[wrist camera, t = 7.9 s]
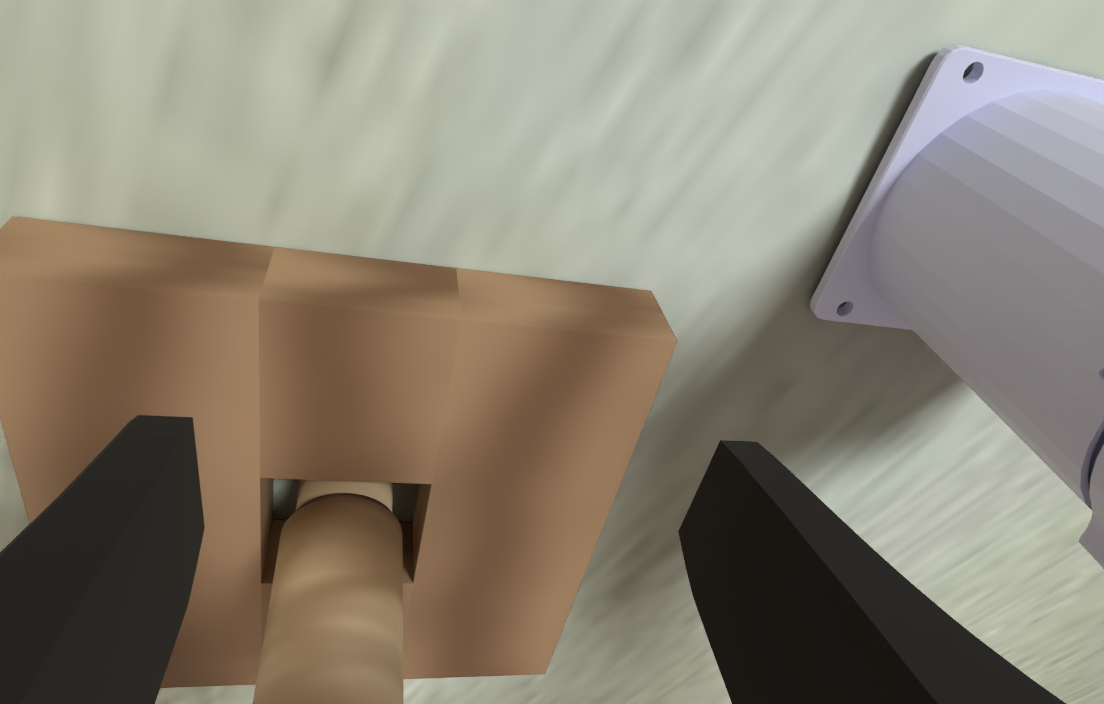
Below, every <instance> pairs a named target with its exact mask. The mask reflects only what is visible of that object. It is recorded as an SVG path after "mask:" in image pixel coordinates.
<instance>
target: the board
mask: <svg viewBox="0 0 1104 704" xmlns="http://www.w3.org/2000/svg"><path fill="white" fill-rule="evenodd" d="M676 344H677V339H676V337H675V335H674V333H673V331H672V329H671V327H670V326H669V324H668V322H667V320H666V318H665V316H664V314H663V312H662V310H661V308H660V306H659V305H658V303H657V301H656V299H655V297H654V295H653V293H652V291H647V290H638V289H630V288H621V287H613V286H604V285H596V284H587V283H578V282H570V281H561V280H553V279H544V278H536V277H527V276H518V275H510V274H501V273H493V272H484V271H476V270H467V269H459V268H450V267H441V266H433V265H424V264H416V263H407V262H399V261H390V260H381V259H373V258H364V257H356V256H347V255H339V254H330V253H321V252H313V251H304V250H296V249H287V248H279V247H270V246H262V245H253V244H244V243H236V242H227V241H219V240H210V239H202V238H193V237H184V236H176V235H167V234H159V233H150V232H142V231H133V230H125V229H116V228H107V227H99V226H90V225H82V224H73V223H65V222H56V221H47V220H39V219H30V218H22V217H13V216H12V217H11V219H10V220H9V221H8V222H7V223H6V224H5V225H4V226H3V227H2V228H1V229H0V419H1V423H2V426H3V430H4V433H5V437H6V441H7V444H8V448H9V451H10V455H11V458H12V462H13V465H14V469H15V473H16V476H17V480H18V483H19V487H20V490H21V494H22V498H23V501H24V505H25V508H26V512H27V515H28V519H29V522H30V523H31V522H32V521H33V520H34V519H35V518H36V517H37V516H39V515H40V514H41V513H42V512H43V511H44V510H45V509H46V508H47V507H48V506H49V505H50V504H51V503H52V502H53V501H54V500H55V499H56V498H57V497H58V496H59V495H60V494H61V493H62V492H63V491H64V490H65V489H66V488H67V487H68V486H69V485H70V484H71V483H72V481H73V480H74V479H75V478H76V477H77V476H78V475H79V474H80V473H81V472H82V471H83V470H84V469H85V468H86V467H87V466H88V465H89V464H90V463H91V462H92V461H93V460H94V459H95V458H96V457H97V455H98V454H99V453H100V452H101V451H102V450H103V449H104V448H105V447H106V446H107V445H108V444H109V443H110V442H111V441H112V439H113V438H114V437H115V436H116V435H117V434H118V433H119V432H120V431H121V430H122V429H123V428H124V427H125V425H126V424H127V423H128V422H129V421H131V420H132V419H133V418H135V417H136V416H138V415H151V416H174V417H193V424H194V433H195V443H196V452H197V461H198V470H199V479H200V489H201V498H202V507H203V516H204V525H205V529H204V533H203V538H202V543H201V548H200V553H199V558H198V562H197V567H196V572H195V576H194V581H193V585H192V590H191V594H190V599H189V603H188V606H187V609H186V612H185V616H184V619H183V622H182V625H181V628H180V631H179V633H178V636H177V639H176V642H175V645H174V648H173V651H172V654H171V657H170V660H169V663H168V666H167V669H166V672H165V675H164V678H163V681H162V683H161V686H160V688H169V687H197V686H225V685H253V684H256V682H257V676H258V669H259V663H260V657H261V651H262V645H263V639H264V633H265V627H266V621H267V615H268V609H269V603H270V597H271V591H272V585H273V578H274V572H275V566H276V560H277V554H278V548H279V542H280V536H281V531H282V528H283V526H284V524H285V522H286V521H287V520H273V478H275V479H303V480H331V481H359V482H387V483H415V484H419V489H418V495H417V501H416V506H415V512H414V518H413V523H401V522H399V523H400V525H401V528H402V552H403V679H420V678H448V677H476V676H504V675H531V674H545V673H546V670H547V668H548V665H549V663H550V660H551V658H552V655H553V653H554V650H555V648H556V645H557V643H558V640H559V638H560V635H561V633H562V630H563V628H564V625H565V623H566V620H567V618H568V615H569V612H570V610H571V607H572V605H573V602H574V600H575V597H576V595H577V592H578V590H579V587H580V585H581V582H582V580H583V577H584V575H585V572H586V570H587V567H588V565H589V562H590V560H591V557H592V555H593V552H594V550H595V547H596V545H597V542H598V540H599V537H600V535H601V532H602V530H603V527H604V525H605V522H606V519H607V517H608V514H609V512H610V509H611V507H612V504H613V502H614V499H615V497H616V494H617V492H618V489H619V487H620V484H621V482H622V479H623V477H624V474H625V472H626V469H627V467H628V464H629V462H630V459H631V457H632V454H633V452H634V449H635V447H636V444H637V442H638V439H639V437H640V434H641V431H642V429H643V426H644V424H645V421H646V419H647V416H648V414H649V411H650V409H651V406H652V404H653V401H654V399H655V396H656V394H657V391H658V389H659V386H660V384H661V381H662V379H663V376H664V374H665V371H666V369H667V366H668V364H669V361H670V359H671V356H672V354H673V351H674V349H675V346H676Z"/></svg>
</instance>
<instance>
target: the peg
mask: <svg viewBox="0 0 1104 704" xmlns="http://www.w3.org/2000/svg"><path fill="white" fill-rule="evenodd" d="M392 485H393V483H387V482H359V481H331V480H303V479H300V484H299V491H298V497H297V504H296V511H295V512H294V513H293V514H292V515H291V516H290V517H289V518H288V519H287V521H286V522H285V524H284V526H283V528H282V531H281V536H280V542H279V548H278V554H277V560H276V566H275V572H274V578H273V585H272V591H271V597H270V603H269V609H268V615H267V621H266V627H265V633H264V639H263V645H262V651H261V657H260V663H259V669H258V676H257V682H256V688H255V694H254V700H253V704H403V552H402V528H401V525H400V523H399V521H398V519H397V518H396V517H395V516H394V514H393V513H392Z"/></svg>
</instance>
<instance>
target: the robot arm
mask: <svg viewBox="0 0 1104 704" xmlns="http://www.w3.org/2000/svg"><path fill="white" fill-rule="evenodd" d="M972 63H973V64H974V65H973V69H972V71H971V72H970V73H969V75H968V76H966V77H965V78H963V74H964V71H965V70H966V68H967V67H968V66H969V65H970V64H972ZM844 302H846V303H845V305H844V306H843V307H841V308H839V309H837V308H838V307H839V305H840V304H842V303H844ZM810 309H811V311H812V312H813V313H814V314H815V315H816V317H817V318H819V319H822V320H828V321H837V322H846V323H854V324H863V325H872V326H881V327H890V328H899V329H908V330H913V331H914V332H915V333H916V334H917V335H918V336H919V337H920V338H921V339H922V340H923V341H924V342H925V343H926V344H927V345H928V346H929V347H930V348H931V349H932V350H933V351H934V352H935V353H936V354H937V355H938V356H939V357H940V358H941V359H942V360H943V361H944V362H945V363H946V364H947V365H948V366H949V367H950V368H951V369H952V370H953V371H954V372H955V373H956V374H957V375H958V376H959V377H960V378H961V379H962V380H963V381H964V382H965V383H966V384H967V385H968V386H969V387H970V388H971V389H972V390H973V391H974V392H975V393H976V394H977V395H978V396H979V397H980V398H981V399H982V400H983V401H984V402H985V403H986V404H987V405H988V406H989V407H990V408H991V409H992V410H993V411H994V412H995V413H996V414H997V415H998V416H999V417H1000V418H1001V419H1002V420H1003V421H1004V422H1005V423H1006V424H1007V425H1008V426H1009V427H1010V428H1011V429H1012V430H1013V431H1014V432H1015V433H1016V434H1017V435H1018V436H1019V437H1020V438H1021V439H1022V440H1023V441H1024V442H1025V443H1026V444H1027V445H1028V446H1029V447H1030V448H1031V449H1032V450H1033V451H1034V452H1035V454H1036V455H1037V456H1038V457H1039V458H1040V459H1041V460H1042V461H1043V462H1044V463H1045V464H1046V465H1047V466H1048V467H1049V468H1050V469H1051V470H1052V471H1053V472H1054V473H1055V474H1056V475H1057V476H1058V477H1059V478H1060V479H1061V480H1062V481H1063V482H1064V483H1065V484H1066V485H1067V486H1068V487H1069V488H1070V489H1071V490H1072V491H1073V492H1074V493H1075V494H1076V495H1077V496H1078V497H1079V498H1080V499H1081V500H1082V501H1083V502H1084V503H1085V504H1086V505H1087V506H1088V507H1089V508H1090V509H1091V510H1092V518H1091V520H1090V522H1089V525H1088V527H1087V528H1086V530H1085V531H1084V533H1083V534H1082V535H1081V537H1080V539H1079V543H1080V544H1081V545H1082V546H1083V547H1084V548H1085V549H1086V550H1087V551H1088V552H1089V553H1090V554H1091V555H1092V557H1093V558H1094V559H1095V560H1096V561H1097V562H1098V563H1099V564H1100V565H1101V566H1102V567H1103V568H1104V80H1102V79H1098V78H1094V77H1090V76H1086V75H1082V74H1078V73H1074V72H1070V71H1066V70H1062V69H1057V68H1053V67H1049V66H1045V65H1041V64H1037V63H1033V62H1029V61H1025V60H1021V59H1017V58H1013V57H1009V56H1005V55H1001V54H997V53H993V52H989V51H984V50H980V49H976V48H972V47H968V46H964V45H960V44H952V45H949V46H947V47H945V48H943V49H942V50H941V51H940V52H939V53H937V55H936V56H935V58H934V59H933V60H932V62H931V64H930V66H929V68H928V70H927V72H926V74H925V76H924V78H923V80H922V82H921V84H920V86H919V88H918V90H917V92H916V94H915V96H914V98H913V100H912V102H911V104H910V105H909V107H908V109H907V111H906V113H905V115H904V117H903V119H902V121H901V123H900V125H899V127H898V129H897V131H896V133H895V135H894V137H893V139H892V141H891V143H890V145H889V147H888V149H887V151H886V153H885V155H884V157H883V159H882V161H881V163H880V165H879V167H878V169H877V171H876V173H875V175H874V176H873V178H872V180H871V182H870V184H869V186H868V188H867V190H866V192H865V194H864V196H863V198H862V200H861V202H860V204H859V206H858V208H857V210H856V212H855V214H854V216H853V218H852V220H851V222H850V224H849V226H848V228H847V230H846V232H845V234H844V236H843V238H842V240H841V242H840V244H839V246H838V247H837V249H836V251H835V253H834V255H833V257H832V259H831V261H830V263H829V265H828V267H827V269H826V271H825V273H824V275H823V277H822V279H821V281H820V283H819V285H818V287H817V289H816V291H815V293H814V295H813V297H812V299H811V302H810ZM204 529H205V525H204V516H203V507H202V498H201V489H200V479H199V470H198V461H197V452H196V443H195V433H194V424H193V417H174V416H151V415H138V416H136V417H135V418H133V419H132V420H131V421H129V422H128V423H127V424H126V425H125V427H124V428H123V429H122V430H121V431H120V432H119V433H118V434H117V435H116V436H115V437H114V438H113V439H112V441H111V442H110V443H109V444H108V445H107V446H106V447H105V448H104V449H103V450H102V451H101V452H100V453H99V454H98V455H97V457H96V458H95V459H94V460H93V461H92V462H91V463H90V464H89V465H88V466H87V467H86V468H85V469H84V470H83V471H82V472H81V473H80V474H79V475H78V476H77V477H76V478H75V479H74V480H73V481H72V483H71V484H70V485H69V486H68V487H67V488H66V489H65V490H64V491H63V492H62V493H61V494H60V495H59V496H58V497H57V498H56V499H55V500H54V501H53V502H52V503H51V504H50V505H49V506H48V507H47V508H46V509H45V510H44V511H43V512H42V513H41V514H40V515H39V516H37V517H36V518H35V519H34V520H33V521H32V522H31V523H30V524H29V525H28V526H27V527H26V528H25V529H24V530H23V531H22V532H21V533H20V534H19V535H18V536H17V537H16V538H15V539H14V540H13V541H12V542H11V543H10V544H9V545H8V546H7V547H5V548H4V549H3V550H2V551H1V552H0V704H155V701H156V698H157V695H158V692H159V689H160V686H161V683H162V681H163V678H164V675H165V672H166V669H167V666H168V663H169V660H170V657H171V654H172V651H173V648H174V645H175V642H176V639H177V636H178V633H179V631H180V628H181V625H182V622H183V619H184V616H185V612H186V609H187V606H188V603H189V599H190V594H191V590H192V585H193V581H194V576H195V572H196V567H197V562H198V558H199V553H200V548H201V543H202V538H203V533H204ZM679 536H680V541H681V546H682V551H683V555H684V560H685V565H686V569H687V573H688V578H689V582H690V586H691V590H692V594H693V597H694V600H695V603H696V606H697V609H698V612H699V615H700V617H701V620H702V623H703V626H704V628H705V631H706V634H707V637H708V639H709V642H710V645H711V648H712V650H713V653H714V656H715V659H716V661H717V664H718V667H719V669H720V672H721V675H722V677H723V680H724V683H725V685H726V688H727V691H728V694H729V696H730V699H731V702H732V704H1066V703H1064V702H1063V701H1061V700H1060V699H1059V698H1057V697H1056V696H1054V695H1053V694H1052V693H1050V692H1049V691H1047V690H1046V689H1044V688H1043V687H1042V686H1040V685H1039V684H1037V683H1036V682H1035V681H1033V680H1032V679H1031V678H1029V677H1028V676H1027V675H1025V674H1024V673H1023V672H1021V671H1020V670H1019V669H1017V668H1016V667H1015V666H1013V665H1012V664H1011V663H1009V662H1008V661H1007V660H1005V659H1004V658H1003V657H1001V656H1000V655H999V654H997V653H996V652H995V651H994V650H992V649H991V648H990V647H988V646H987V645H986V644H984V643H983V642H982V641H980V640H979V639H978V638H976V637H975V636H974V635H973V634H971V633H970V632H969V631H968V630H966V629H965V628H964V627H963V626H961V625H960V624H959V623H958V622H956V621H955V620H954V619H953V618H952V617H950V616H949V615H948V614H947V613H946V612H944V611H943V610H942V609H941V608H940V607H939V606H937V605H936V604H935V603H934V602H933V601H931V600H930V599H929V598H928V597H927V596H926V595H924V594H923V593H922V592H921V591H920V590H919V589H917V588H916V587H915V586H914V585H913V584H911V583H910V582H909V581H908V580H907V579H906V578H905V577H903V576H902V575H901V574H900V573H899V572H898V571H897V570H896V569H894V568H893V567H892V566H891V565H890V564H889V563H888V562H887V561H885V560H884V559H883V558H882V557H881V556H880V555H879V554H878V553H877V552H876V551H874V550H873V549H872V548H871V547H870V546H869V545H868V544H867V543H866V542H865V541H864V540H862V539H861V538H860V537H859V536H858V535H857V534H856V533H855V532H854V531H853V530H852V529H851V528H850V527H849V526H847V525H846V524H845V523H844V522H843V521H842V520H841V519H840V518H839V517H838V516H837V515H836V514H835V513H834V512H833V511H832V510H830V509H829V508H828V507H827V506H826V505H825V504H824V503H823V502H822V501H821V500H820V499H819V498H818V497H817V496H816V495H815V494H814V493H813V492H811V491H810V490H809V489H808V488H807V487H806V486H805V485H804V484H803V483H802V482H801V481H800V480H799V479H798V478H797V477H796V476H795V475H793V474H792V473H791V472H790V471H789V470H788V469H787V468H786V467H785V466H784V465H783V464H782V463H781V462H779V461H778V460H777V459H776V458H775V457H774V456H773V455H772V454H771V453H769V452H768V451H767V450H766V449H765V448H764V447H762V446H761V445H760V444H759V443H758V442H745V441H722V440H720V442H719V445H718V447H717V449H716V451H715V453H714V456H713V458H712V460H711V462H710V464H709V466H708V469H707V471H706V473H705V475H704V477H703V479H702V482H701V484H700V486H699V488H698V490H697V492H696V495H695V497H694V499H693V501H692V503H691V505H690V508H689V510H688V512H687V514H686V516H685V518H684V521H683V523H682V525H681V527H680V529H679Z"/></svg>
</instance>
